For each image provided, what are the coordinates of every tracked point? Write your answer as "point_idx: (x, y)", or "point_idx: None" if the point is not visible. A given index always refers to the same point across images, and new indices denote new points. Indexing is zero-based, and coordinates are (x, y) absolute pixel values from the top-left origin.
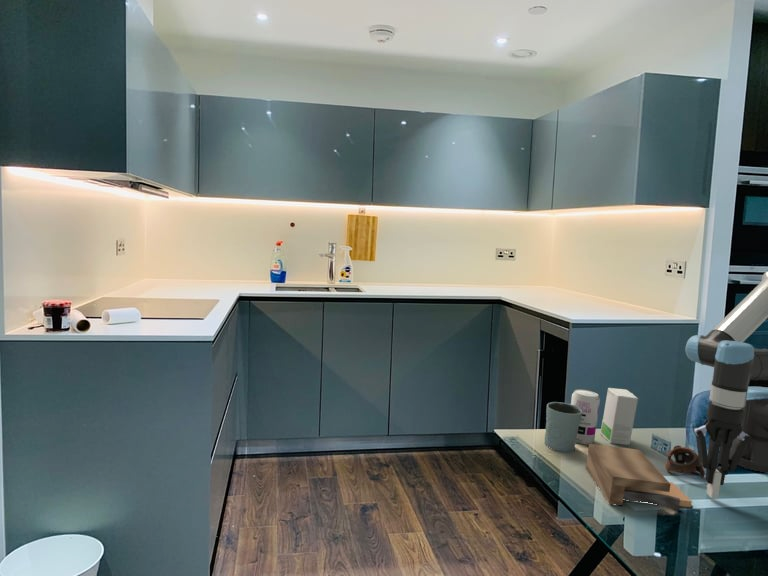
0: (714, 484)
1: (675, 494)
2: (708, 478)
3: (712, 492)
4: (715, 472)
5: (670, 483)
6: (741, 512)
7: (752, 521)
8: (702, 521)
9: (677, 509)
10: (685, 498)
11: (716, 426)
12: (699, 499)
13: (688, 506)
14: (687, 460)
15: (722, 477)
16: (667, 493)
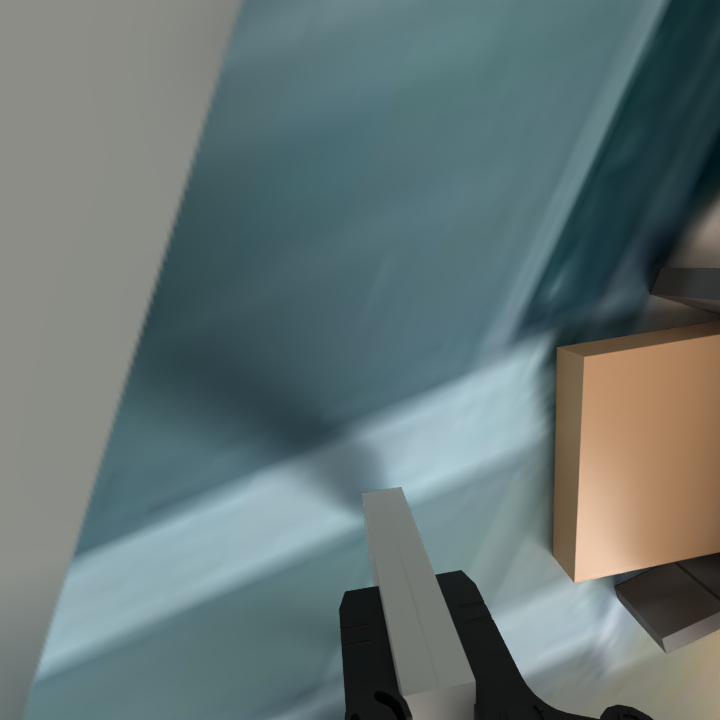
0: (423, 564)
1: (646, 418)
2: (485, 609)
3: (409, 513)
4: (467, 695)
5: (595, 562)
6: (243, 407)
7: (211, 296)
8: (577, 154)
9: (669, 268)
10: (607, 384)
11: None
12: (452, 477)
13: (572, 346)
14: None
15: (363, 663)
16: (691, 412)
